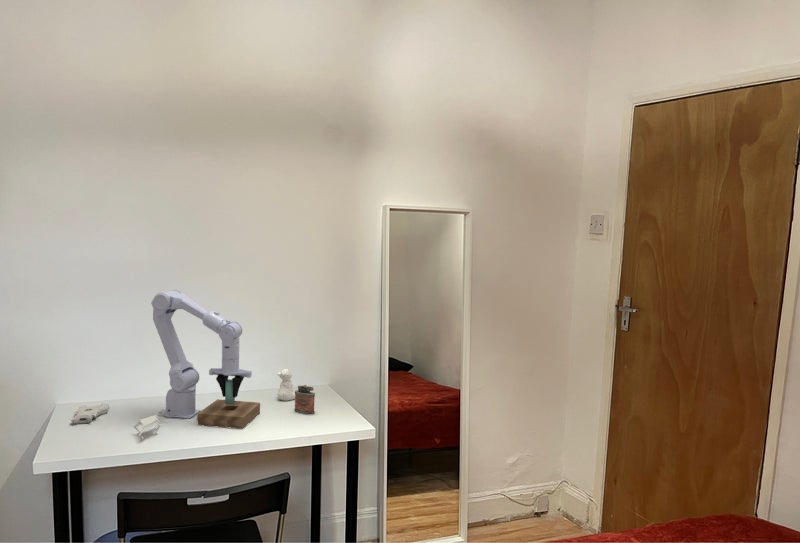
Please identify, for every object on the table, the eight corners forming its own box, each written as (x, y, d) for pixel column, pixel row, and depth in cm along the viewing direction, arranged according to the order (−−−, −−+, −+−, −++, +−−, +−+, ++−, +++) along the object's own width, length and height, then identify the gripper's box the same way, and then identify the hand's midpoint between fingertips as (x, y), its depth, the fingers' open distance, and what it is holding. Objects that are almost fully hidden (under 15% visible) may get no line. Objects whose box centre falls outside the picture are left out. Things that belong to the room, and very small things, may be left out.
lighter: (292, 411, 218) (293, 385, 217) (297, 409, 221) (298, 382, 220) (311, 415, 215) (312, 388, 214) (316, 412, 218) (317, 386, 217)
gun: (103, 413, 199) (69, 416, 195) (103, 423, 199) (69, 426, 196) (109, 400, 216) (78, 402, 212) (109, 409, 216) (78, 411, 213)
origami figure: (134, 430, 194) (134, 415, 194) (161, 428, 197) (161, 414, 196) (129, 444, 183) (129, 428, 182) (158, 442, 185) (158, 426, 185)
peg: (223, 404, 206) (223, 381, 205) (227, 401, 209) (227, 379, 208) (232, 405, 206) (232, 382, 205) (236, 402, 209) (236, 379, 208)
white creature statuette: (303, 397, 236) (303, 367, 235) (291, 403, 228) (292, 372, 226) (282, 394, 239) (283, 364, 238) (270, 400, 231) (271, 369, 230)
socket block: (197, 425, 201) (197, 413, 201) (217, 410, 217) (217, 399, 216) (243, 428, 199) (243, 417, 199) (259, 413, 215) (260, 402, 215)
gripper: (205, 359, 203) (204, 398, 204) (246, 361, 201) (245, 401, 202) (214, 354, 210) (213, 392, 211) (254, 357, 208) (253, 395, 209)
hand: (230, 396), depth 207 cm, fingers closed on peg, 3 cm apart
